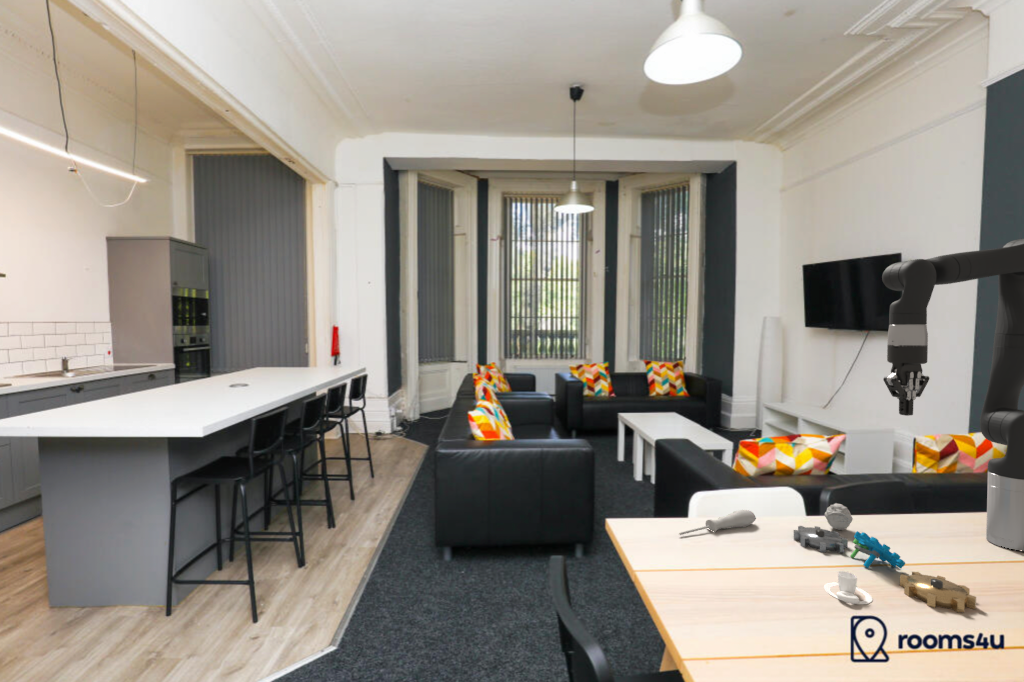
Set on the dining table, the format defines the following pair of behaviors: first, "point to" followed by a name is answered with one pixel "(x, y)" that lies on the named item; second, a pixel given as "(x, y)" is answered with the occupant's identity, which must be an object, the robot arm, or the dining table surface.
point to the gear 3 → (937, 591)
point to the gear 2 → (875, 550)
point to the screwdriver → (728, 521)
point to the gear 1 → (820, 539)
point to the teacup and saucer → (847, 589)
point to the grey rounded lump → (838, 516)
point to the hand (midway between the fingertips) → (905, 414)
